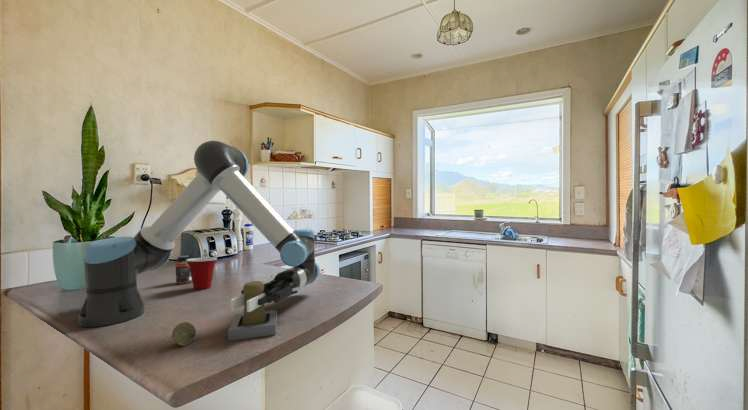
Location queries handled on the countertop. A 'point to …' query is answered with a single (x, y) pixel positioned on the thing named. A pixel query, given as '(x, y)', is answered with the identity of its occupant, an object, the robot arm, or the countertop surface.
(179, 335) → the grey-green short cylinder
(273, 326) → the block
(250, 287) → the cork
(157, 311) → the countertop surface
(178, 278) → the supplement bottle
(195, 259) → the plastic cup
